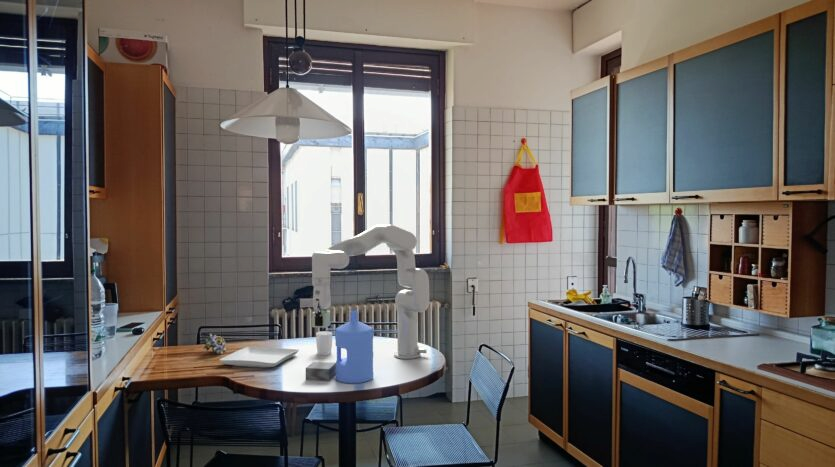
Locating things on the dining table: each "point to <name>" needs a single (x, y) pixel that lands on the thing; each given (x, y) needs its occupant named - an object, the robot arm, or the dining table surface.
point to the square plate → (259, 356)
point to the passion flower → (215, 344)
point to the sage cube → (325, 319)
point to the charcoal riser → (320, 371)
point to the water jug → (354, 351)
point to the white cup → (324, 342)
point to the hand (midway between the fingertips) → (321, 323)
